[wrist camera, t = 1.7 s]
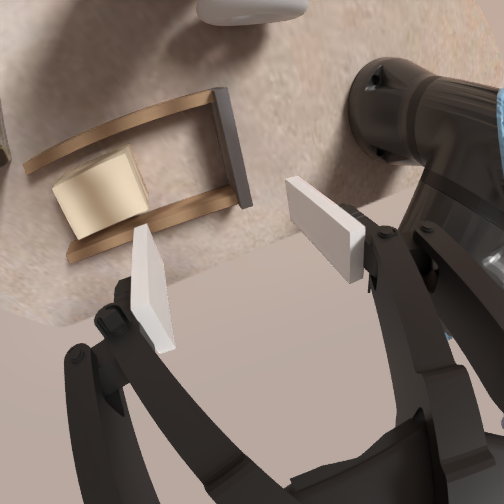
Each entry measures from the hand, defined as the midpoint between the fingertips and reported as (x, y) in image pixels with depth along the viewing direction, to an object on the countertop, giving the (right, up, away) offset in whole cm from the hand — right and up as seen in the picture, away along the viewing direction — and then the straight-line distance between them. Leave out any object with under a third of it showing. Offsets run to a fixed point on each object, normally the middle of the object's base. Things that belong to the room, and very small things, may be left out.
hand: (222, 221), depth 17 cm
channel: (-11, +7, +13) cm, 18 cm away
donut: (0, +23, +7) cm, 24 cm away
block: (-14, +6, +13) cm, 20 cm away
